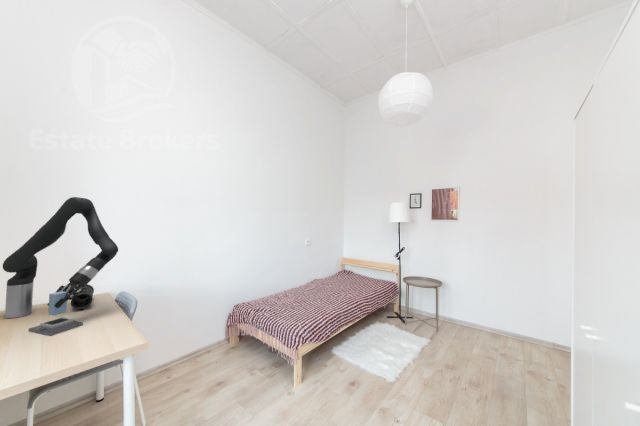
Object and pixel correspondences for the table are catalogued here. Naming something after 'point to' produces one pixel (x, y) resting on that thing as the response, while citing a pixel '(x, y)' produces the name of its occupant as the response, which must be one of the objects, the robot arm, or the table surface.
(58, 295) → the peg
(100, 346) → the table surface
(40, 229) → the robot arm
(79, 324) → the grey metal socket plate
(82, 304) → the muzzle brake
